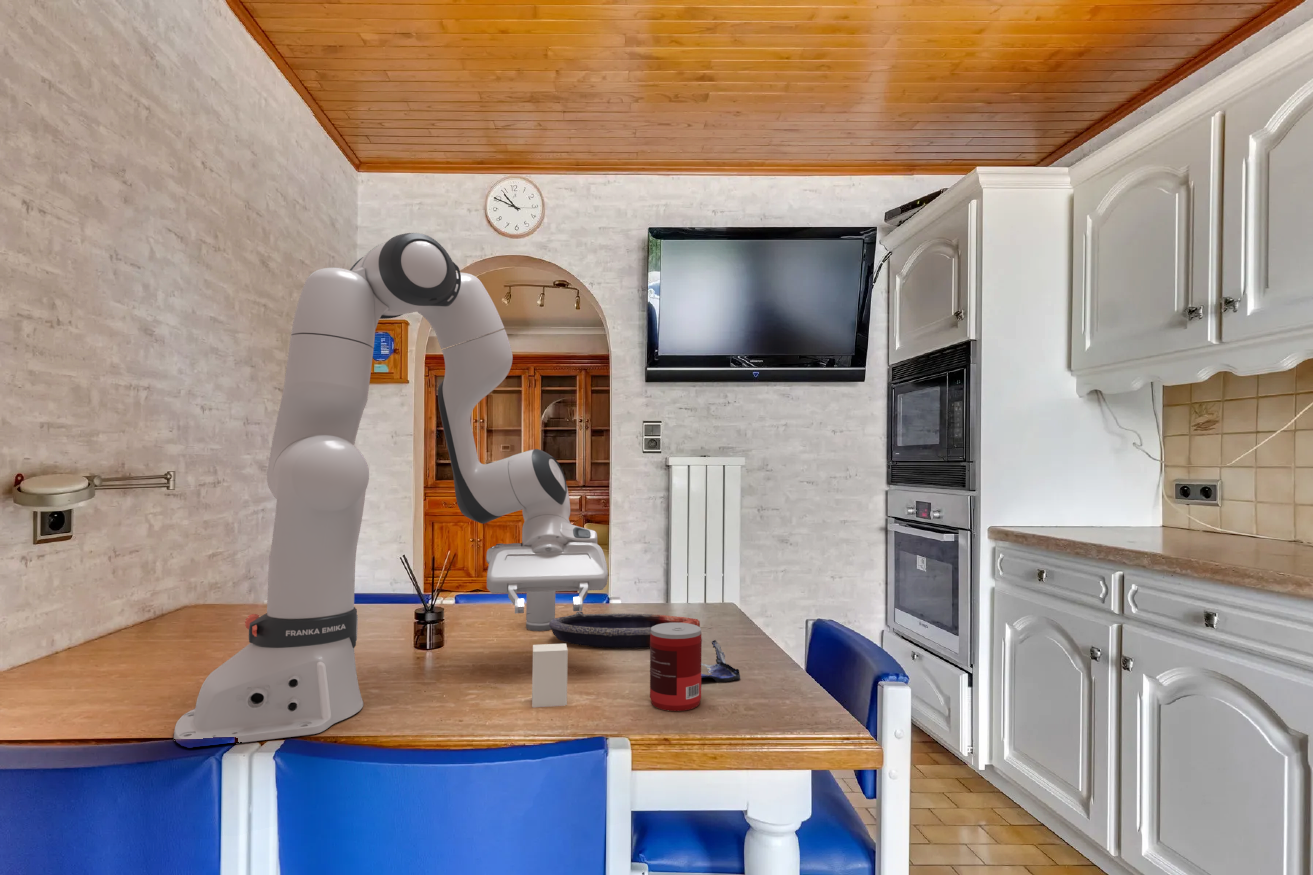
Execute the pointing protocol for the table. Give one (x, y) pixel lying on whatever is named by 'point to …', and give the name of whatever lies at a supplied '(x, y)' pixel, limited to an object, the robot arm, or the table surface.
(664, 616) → the dish
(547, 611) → the travel mug
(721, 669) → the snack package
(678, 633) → the canned food
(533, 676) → the block
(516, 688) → the table surface
